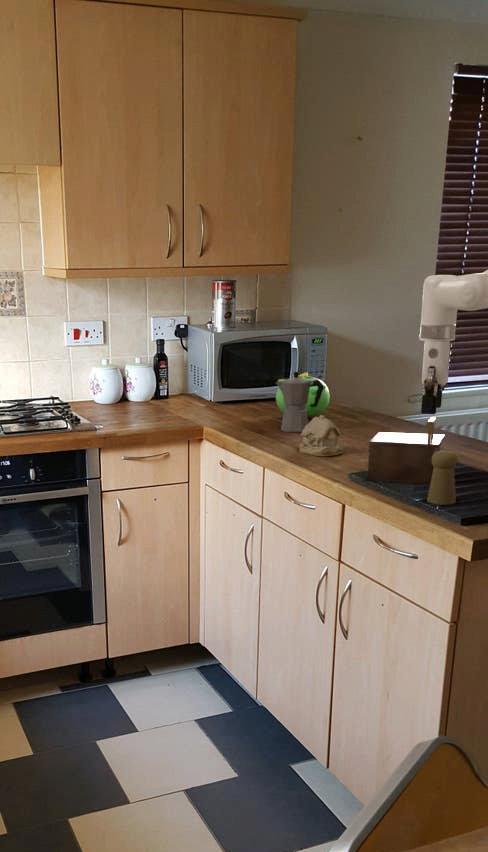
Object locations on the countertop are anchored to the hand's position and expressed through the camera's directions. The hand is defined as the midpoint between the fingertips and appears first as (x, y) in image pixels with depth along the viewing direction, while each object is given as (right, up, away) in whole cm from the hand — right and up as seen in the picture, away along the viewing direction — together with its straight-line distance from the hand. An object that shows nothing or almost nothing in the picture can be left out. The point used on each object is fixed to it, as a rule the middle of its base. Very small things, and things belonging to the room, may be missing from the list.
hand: (431, 410), depth 201 cm
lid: (-4, -6, +4) cm, 9 cm away
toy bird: (-14, +16, +97) cm, 99 cm away
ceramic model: (-18, -4, +41) cm, 44 cm away
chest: (-4, -15, +7) cm, 17 cm away
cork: (-2, -23, -15) cm, 27 cm away
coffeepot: (-19, +8, +74) cm, 77 cm away
